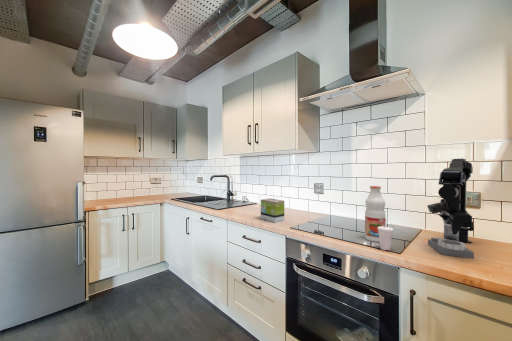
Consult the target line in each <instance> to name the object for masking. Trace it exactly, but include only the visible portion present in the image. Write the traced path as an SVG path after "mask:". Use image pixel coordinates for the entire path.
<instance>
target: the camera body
mask: <svg viewBox="0 0 512 341" xmlns="http://www.w3.org/2000/svg"><path fill="white" fill-rule="evenodd" d="M427 245H428V246H430V247H431V248H432V249H434V251H436V252H437V253H439V255H441V256H449V257H451V256H452V257H459V258H467V259H468V258H469V259H474V258H475V255H474V254H475V252H474V251H472V250H470V249H469V248H467V247H466V243H465V242H459V241H453V240H448V239H445V238H444V237H443V238H441V237H432V236H431V237H430V239H429V238H428V239H427Z"/></svg>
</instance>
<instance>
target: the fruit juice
mask: <svg viewBox="0 0 512 341" xmlns="http://www.w3.org/2000/svg"><path fill="white" fill-rule="evenodd" d="M381 188H382V187H381V186H379V185H370V186H369V189H370V192H369V194H368V197H367V198H366V200H365V208H366V209H365V211H364V238H365V240H367V241H369V242H375V243H380V240H379V232H378V227H381V226H383V227H385V218H386V211H385V207H386V201H385V199H384V198H383V196H382V193H381Z"/></svg>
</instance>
